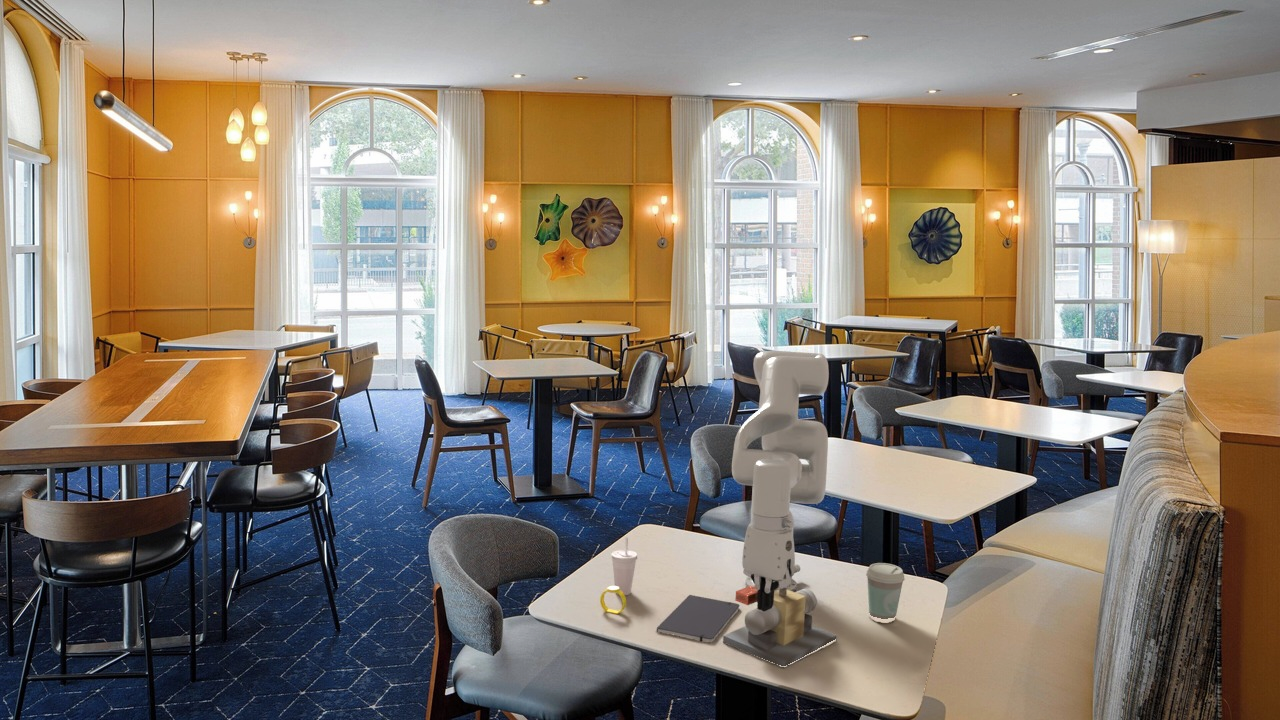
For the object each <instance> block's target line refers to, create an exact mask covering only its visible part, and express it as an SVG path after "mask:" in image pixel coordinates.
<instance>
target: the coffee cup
mask: <svg viewBox="0 0 1280 720" xmlns="http://www.w3.org/2000/svg"><path fill="white" fill-rule="evenodd" d="M866 577H867V595H868V598H867V599H868V613H870V615H871V616H873V617H877V618H881V619H888V618H894V617H895V616H896V617H897V613H898V608H899V603H900V597H901V593H902V588H903V582H904V581H905V579H906V578H905V575H904V572H903V569H902V567H900V566H897V565H895V564H892V563H886V562H877V563H875V562H874V563H872V564H870V565H869V567H868V569H867V571H866Z"/></svg>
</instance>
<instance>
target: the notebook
mask: <svg viewBox="0 0 1280 720" xmlns="http://www.w3.org/2000/svg"><path fill="white" fill-rule="evenodd" d="M739 608H740V604H739V603H735V602H731V601H730V602H729V601H725V600H721V599H720V600H719V599H715V598H708V597H703V596H698V595H693V594H689V595H687V597H686V598H685V599H684V600H683V601H682V602H681V603H679V605H678V606H677V607H675V608H674V610H673V611H672V612H671V613H670V614H669V615H668V616H667V617H666V618H665V619H664V620H663V621H662V622H661V623H660V624H659V625H658V626H657V627H656V633H660V632H662V633H661V634H665V633H667V634H666V635H669V634H674V635H678V636H677V637H679V636H680V638H684V637H687V638H686V639H689V638H692V639H691V640H693V639H696V640H695V641H698V640H699V641H698V642H701V643H702V642H704V643H708V642H711V643H714V641H715V640H716V638H717V637H718V636H719V635H720V633H721V632H722V631H723V630H724V629H723V628H725V627H726V626H727V625H728V624H727V623H729V622H730V621H731V620H732V619H733V617H734V616H736V614H735V613H738V611H739ZM731 618H732V619H731ZM730 619H731V620H730ZM718 634H719V635H718ZM674 635H673V636H674Z"/></svg>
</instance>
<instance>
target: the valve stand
mask: <svg viewBox="0 0 1280 720" xmlns="http://www.w3.org/2000/svg"><path fill="white" fill-rule="evenodd" d="M817 605H818V601H817V596H816V595H815V593H814V591H812V590H811V589H809V588H803V589H800V590H797V591H794V592H793V591H790V590H787V588H782V589H780V590H777V591H775V592H774V604H773V607H772V608H771V609H769V610H767V611H765V612H764V611H762V610H758V609H757V607H756V608H754V609H752V610H750V611H749V610H748V612H747V613H745V616H744V624H745V625H744V626H743V627H740V628H738V629H736V630H733V631H731V632H728V633H726V634H724V635H723V637H722V639H723V640H722V643H724V644H726V645H728V644H729V645H728V646H731V647H733V648H735V647H736V649H738V650H740V649H741V650H740V651H742V650H743V651H742V652H745V653H747V654H749V655H751V654H752V656H754V655H755V656H754V657H756V656H758V657H760V658H759V659H761V658H763V659H765V660H768V661H770V662H773V663H775V664H778V665H781V666H786V665H788V664H790V663H792V662H794V661H796V660H798V659H800V658H802V657H804V656H805V655H807V654H809V653H811V652H813V651H815V650H817V649H818V648H820V647H822V646H824V645H826V644H827V643H829V642H831V641H833V640H835V639H836V640H837V634H836V633H835V634H834V633H833V632H829V631H827V630H824V629H822V628H819V627H816V626H814V625H813V615H812V614H811V615H810V614H809V613H810V612H813V611H814V610H815V609H816V608H817ZM758 657H757V658H758ZM763 659H762V660H763ZM765 660H764V661H765ZM768 661H767V662H768ZM770 662H769V663H770ZM775 664H774V665H775Z"/></svg>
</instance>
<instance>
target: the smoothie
mask: <svg viewBox="0 0 1280 720" xmlns="http://www.w3.org/2000/svg"><path fill="white" fill-rule="evenodd" d="M628 540H629V537H628V536H625V542H624V543H625V545H624V546H625V547H624V548H625V549H617V550H614V551H612V552H611V554H610V558H611V560H612V568H613V570H612V571H613V578H614V579H613V580H614V581H613V582H614V586H618V587H619V590H620V591H622V592H623V593H624V595H625V596H628V595H631V592H632V587H633V580H634V576H635V575H634V574H635V569H636V562H637V560H638V553H637V552H635V550H634V551H633V550H630V549H628V546H629V545H628V543H629V541H628ZM615 594H616V595H619V594H618V593H615ZM619 596H620V595H619Z"/></svg>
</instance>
